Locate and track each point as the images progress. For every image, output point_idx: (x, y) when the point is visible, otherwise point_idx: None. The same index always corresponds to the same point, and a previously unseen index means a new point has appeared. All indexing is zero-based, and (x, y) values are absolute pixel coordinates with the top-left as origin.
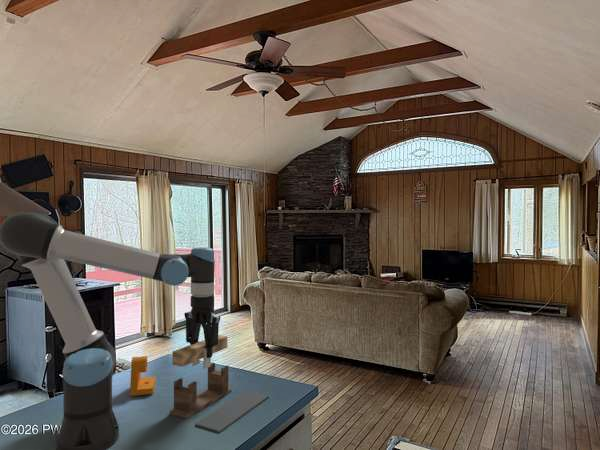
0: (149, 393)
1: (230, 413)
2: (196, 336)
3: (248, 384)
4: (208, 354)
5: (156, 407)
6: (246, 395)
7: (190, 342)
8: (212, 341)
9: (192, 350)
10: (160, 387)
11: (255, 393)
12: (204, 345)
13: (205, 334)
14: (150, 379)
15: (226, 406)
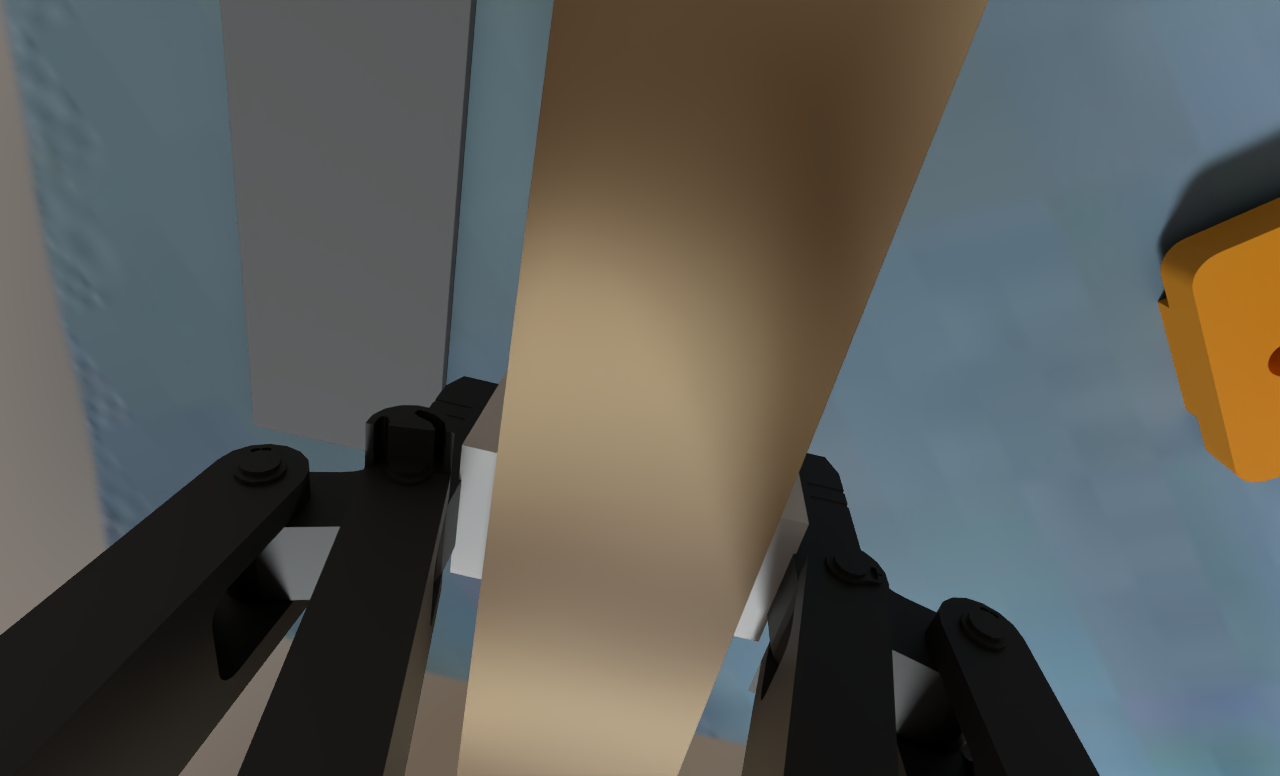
0: (1190, 239)
1: (320, 85)
2: (766, 742)
3: None
4: (455, 406)
5: (1020, 38)
6: (392, 397)
7: (883, 591)
8: (162, 525)
9: (548, 101)
10: (1129, 401)
11: (353, 437)
12: (491, 505)
13: (330, 721)
14: (1274, 427)
15: (421, 195)
